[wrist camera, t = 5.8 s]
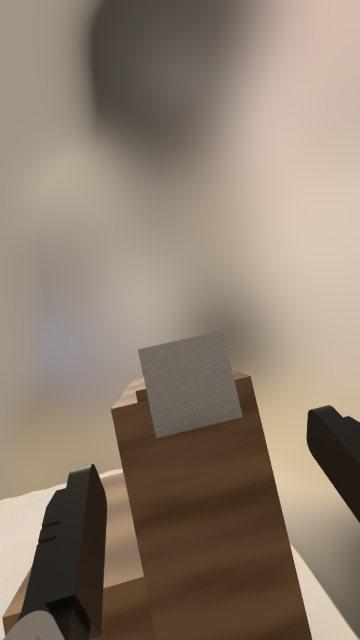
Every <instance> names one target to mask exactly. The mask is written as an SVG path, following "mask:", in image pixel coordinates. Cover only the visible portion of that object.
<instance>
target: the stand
mask: <svg viewBox="0 0 360 640" xmlns="http://www.w3.org/2000/svg"><path fill="white" fill-rule="evenodd" d="M232 372H233V377H234V381H235V385H236V390H237V394H238V398H239V403H240V407H241V412H242V416H243V417H240V418H236V419H232V420H228V421H224V422H220V423H216V424H212V425H208V426H204V427H200V428H196V429H192V430H188V431H184V432H180V433H176V434H172V435H168V436H164V437H160V438H156V434H155V430H154V425H153V420H152V415H151V410H150V405H149V401H148V396H147V391H146V386H145V381H144V376H143V377H142V378H139V379H134V380H133V381H132V382H131V383H130V385H129V386H128V388H127V389H126V390H125V391H124V393H123V394H122V395H121V397H120V398H119V399H118V400H117V402H116V403H115V405H114V406H113V407H112V408H111V412H112V417H113V422H114V427H115V432H116V437H117V442H118V448H119V453H120V457H121V463H122V468H123V473H120V474H116V475H112V476H108V477H104V478H100V480H101V482H102V485H103V487H104V490H105V493H106V498H107V526H106V546H105V566H104V586H103V606H102V626H101V636H98V637H95V638H91V639H89V640H312V637H311V632H310V628H309V624H308V619H307V615H306V611H305V607H304V602H303V598H302V594H301V590H300V585H299V581H298V577H297V573H296V568H295V564H294V560H293V556H292V551H291V547H290V543H289V539H288V534H287V530H286V526H285V521H284V517H283V513H282V509H281V505H280V500H279V496H278V492H277V487H276V483H275V479H274V475H273V470H272V466H271V462H270V457H269V453H268V449H267V445H266V441H265V436H264V432H263V428H262V423H261V419H260V415H259V411H258V406H257V403H256V398H255V394H254V390H253V385H252V381H251V377H250V376H248V375H245V374H242V373H239V372H236V371H232ZM31 569H32V567H31ZM31 569H30V571H29V572H28V574H27V576H26V578H25V579H24V581H23V583H22V584H21V586H20V588H19V590H18V591H17V593H16V595H15V597H14V598H13V600H12V602H11V604H10V605H9V607H8V609H7V610H6V612H5V614H4V616H3V617H2V619H3V625H4V631H5V636H6V635H7V634H8V632H9V631H10V629H11V628H12V627H13V626H14V625H15V624H16V622H17V620H18V618H19V615H20V613H21V609H22V606H23V602H24V598H25V594H26V590H27V586H28V581H29V577H30V573H31Z"/></svg>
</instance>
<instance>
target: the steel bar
mask: <svg viewBox="0 0 360 640" xmlns="http://www.w3.org/2000/svg"><path fill="white" fill-rule="evenodd" d="M138 352H139V357H140V362H141V367H142V372H143V376H144V381H145V386H146V391H147V396H148V401H149V405H150V410H151V415H152V420H153V425H154V430H155V434H156V438H160V437H164V436H168V435H172V434H176V433H180V432H184V431H188V430H192V429H196V428H200V427H204V426H208V425H212V424H216V423H220V422H224V421H228V420H232V419H236V418H240V417H243V416H242V412H241V407H240V403H239V398H238V394H237V390H236V385H235V381H234V377H233V372H232V368H231V364H230V360H229V355H228V351H227V347H226V342H225V338H224V333H223V331H221V332H216V333H211V334H207V335H202V336H198V337H193V338H189V339H184V340H179V341H175V342H170V343H166V344H161V345H156V346H152V347H148V348H143V349H138Z"/></svg>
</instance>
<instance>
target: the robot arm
mask: <svg viewBox="0 0 360 640" xmlns="http://www.w3.org/2000/svg"><path fill="white" fill-rule="evenodd" d="M307 444H308V447H309V450H310V452H311V454H312V456H313V457H314V459H315V460H316V461H317V463H318V464H319V466H320V467H321V468H322V470H323V471H324V473H325V474H326V476H327V477H328V478H329V480H330V481H331V483H332V484H333V486H334V487H335V488H336V490H337V491H338V493H339V494H340V496H341V497H342V498H343V500H344V501H345V503H346V504H347V506H348V507H349V508H350V510H351V511H352V513H353V514H354V515H355V517H356V518H357V520H358V521H359V522H360V422H358V421H356V420H355V419H353V418H351V417H349V416H347V417H344V418H343V417H342V416H341V415H340V414H339V413H338V412H337V411H336V410H335V409H334V408H333V407H332V406H330V405H327V406H324V407H320V408H316V409H312V410H309V412H308V422H307ZM106 526H107V498H106V493H105V490H104V487H103V485H102V482H101V480H100V477H99V475H98V472H97V470H96V468H95V466H94V464H90V465H86V466H82V467H79V468H75V469H71V471H70V473H69V476H68V481H67V487H66V488H65V489H61V490H57V491H56V492H55V494H54V495H53V497H52V499H51V500H50V502H49V504H48V505H47V507H46V511H45V515H44V519H43V523H42V529H41V531H40V536H39V540H38V542H39V543H38V545H37V548H36V552H35V556H34V561H33V565H32V569H31V573H30V577H29V581H28V586H27V590H26V594H25V598H24V602H23V606H22V609H21V613H20V615H19V618H18V620H17V622H16V624H15V625H14V626H13V627H12V628H11V629H10V631H9V632H8V634H7V635H6V636H5V638H4V640H89V639H91V638H95V637H98V636H101V626H102V606H103V586H104V566H105V546H106Z"/></svg>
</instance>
